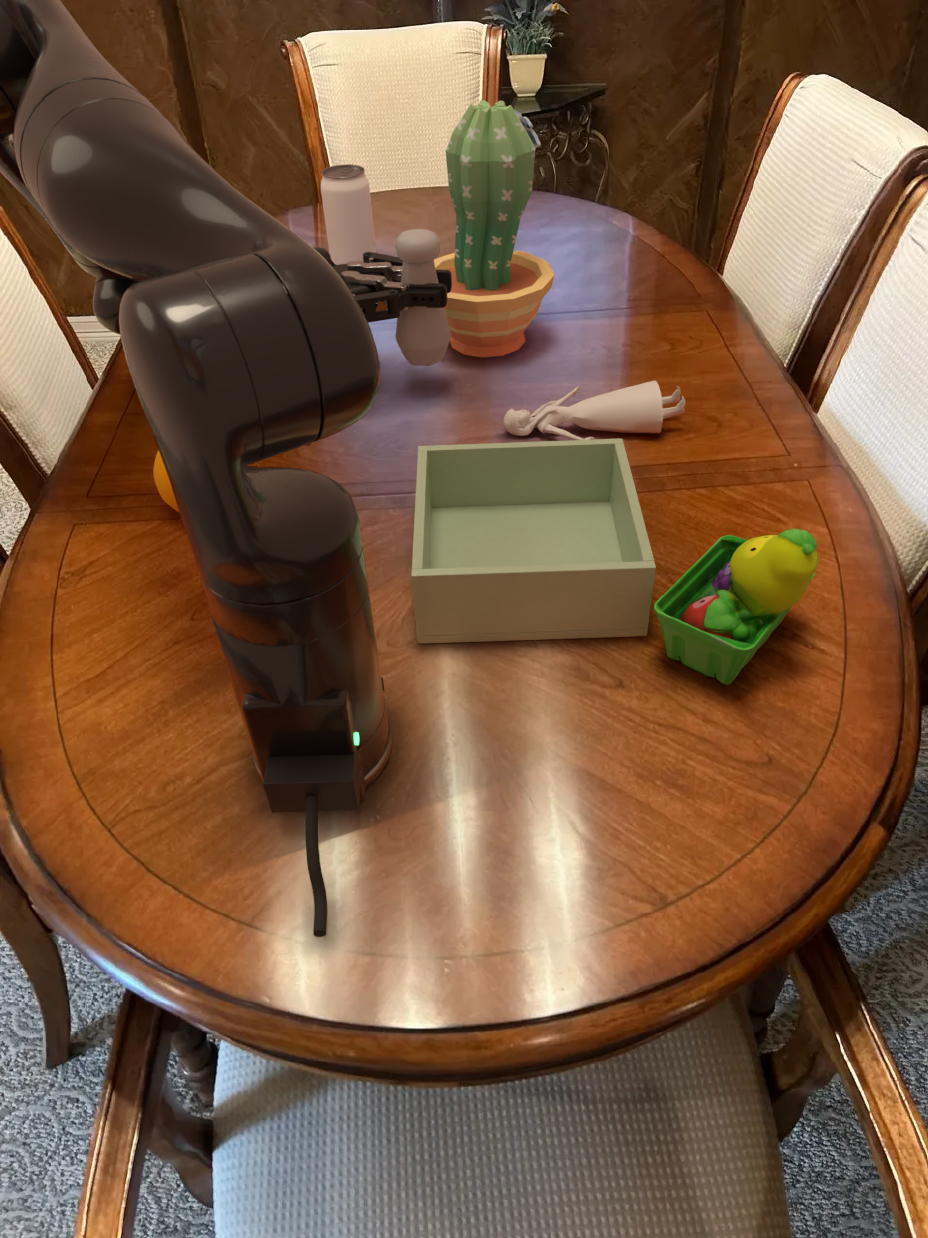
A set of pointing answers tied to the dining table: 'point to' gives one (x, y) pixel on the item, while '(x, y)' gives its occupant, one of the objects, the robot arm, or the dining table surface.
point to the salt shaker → (420, 327)
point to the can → (347, 213)
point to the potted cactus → (491, 232)
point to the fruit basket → (735, 600)
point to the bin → (529, 543)
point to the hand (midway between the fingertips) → (448, 288)
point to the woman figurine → (601, 412)
